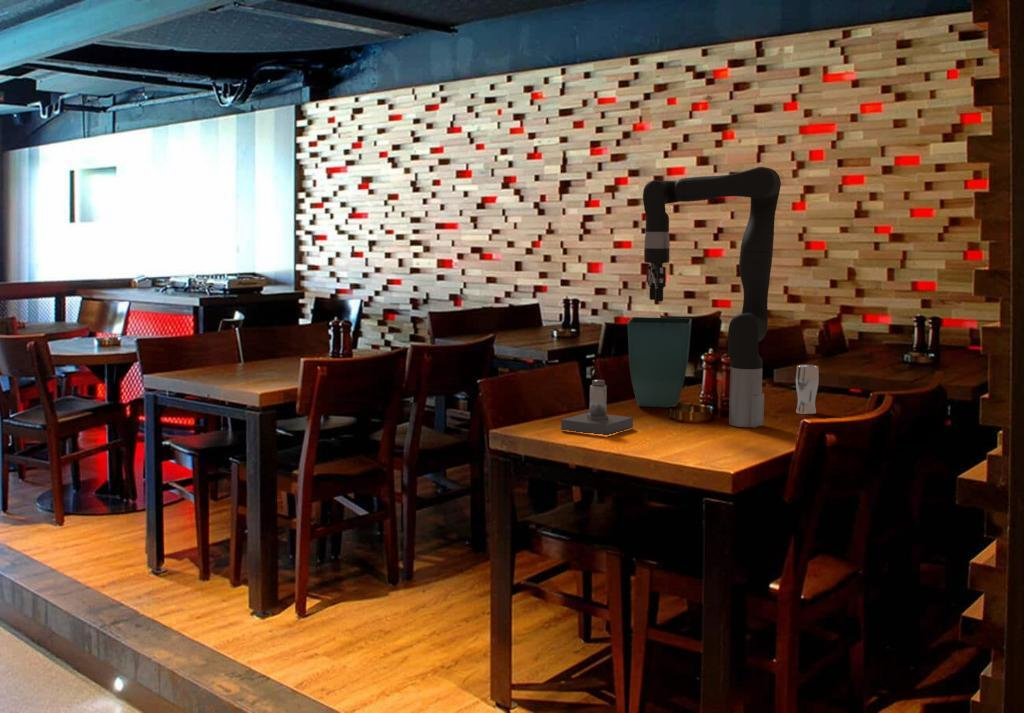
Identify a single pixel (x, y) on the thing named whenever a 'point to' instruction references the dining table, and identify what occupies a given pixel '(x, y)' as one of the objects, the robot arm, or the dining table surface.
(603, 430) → the slate block
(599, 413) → the salt shaker
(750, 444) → the dining table surface
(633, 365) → the flower pot
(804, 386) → the beer glass
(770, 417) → the dining table surface
